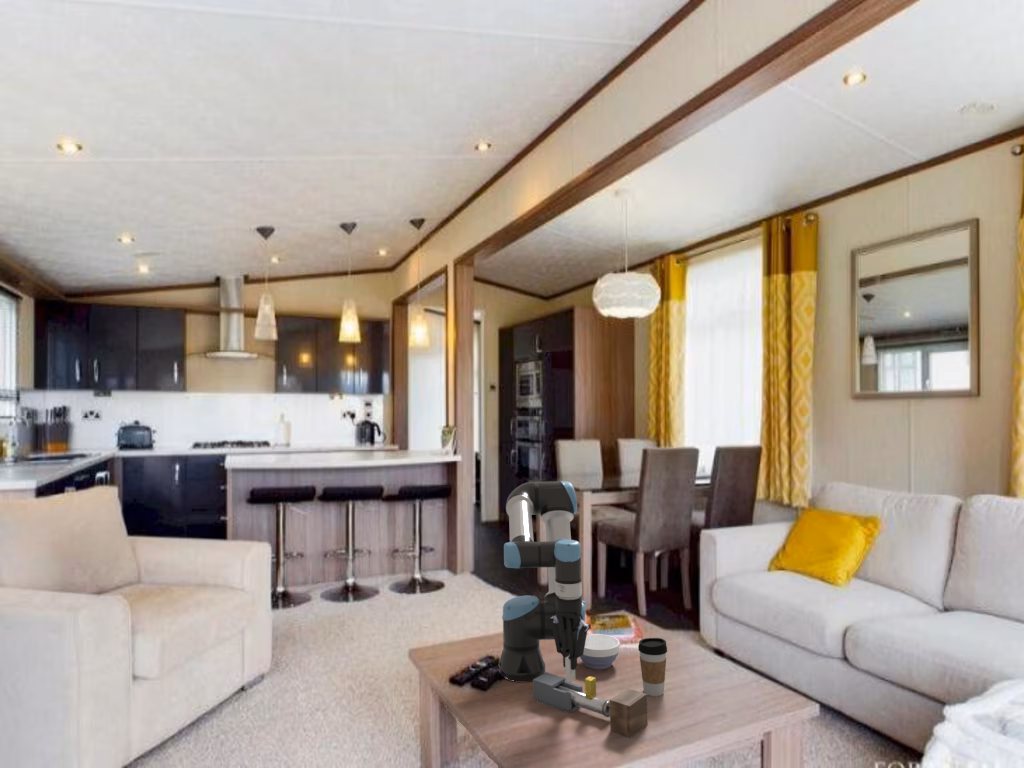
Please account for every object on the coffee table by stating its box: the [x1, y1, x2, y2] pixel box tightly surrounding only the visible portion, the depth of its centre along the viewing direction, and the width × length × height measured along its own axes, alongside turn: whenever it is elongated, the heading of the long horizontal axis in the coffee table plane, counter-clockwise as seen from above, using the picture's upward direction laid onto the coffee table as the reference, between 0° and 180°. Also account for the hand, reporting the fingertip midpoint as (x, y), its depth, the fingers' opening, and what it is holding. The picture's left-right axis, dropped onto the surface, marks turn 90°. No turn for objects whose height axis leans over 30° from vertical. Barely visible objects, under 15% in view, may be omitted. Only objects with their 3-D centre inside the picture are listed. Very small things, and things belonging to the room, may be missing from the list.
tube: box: [554, 675, 610, 718], centre depth 186 cm, size 22×4×9 cm, turn 50°
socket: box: [609, 687, 648, 738], centre depth 175 cm, size 6×9×8 cm, turn 140°
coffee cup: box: [637, 637, 668, 697], centre depth 196 cm, size 8×8×15 cm
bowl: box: [579, 633, 621, 671], centre depth 217 cm, size 14×14×8 cm
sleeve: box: [532, 671, 583, 714], centre depth 190 cm, size 13×7×6 cm, turn 50°
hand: (570, 679), depth 187 cm, fingers closed
